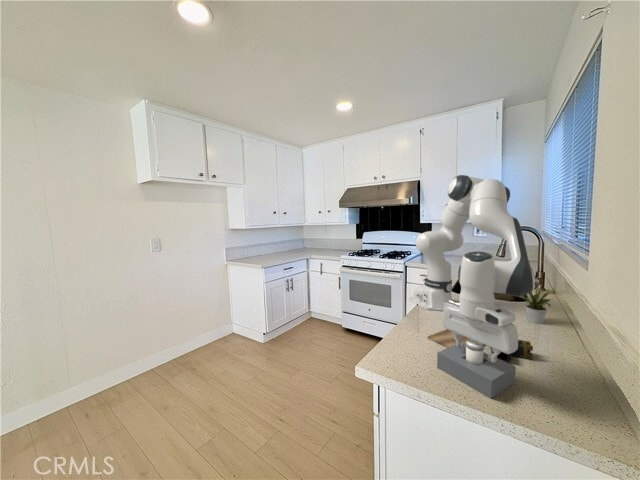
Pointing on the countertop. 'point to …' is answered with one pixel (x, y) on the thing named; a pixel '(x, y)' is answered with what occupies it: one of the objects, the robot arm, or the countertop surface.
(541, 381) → the countertop surface
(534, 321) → the house plant
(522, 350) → the pipe connector
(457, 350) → the socket block
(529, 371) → the countertop surface
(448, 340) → the pad
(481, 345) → the plug
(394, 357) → the countertop surface
